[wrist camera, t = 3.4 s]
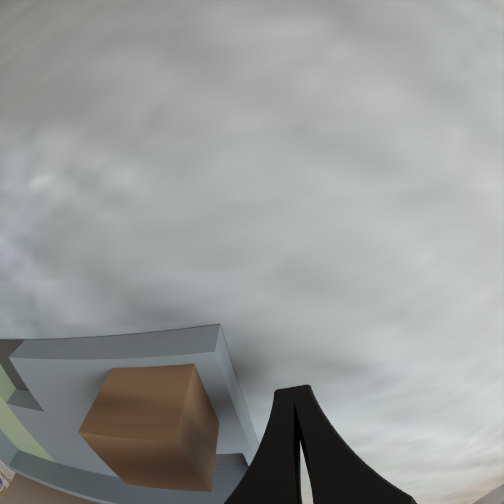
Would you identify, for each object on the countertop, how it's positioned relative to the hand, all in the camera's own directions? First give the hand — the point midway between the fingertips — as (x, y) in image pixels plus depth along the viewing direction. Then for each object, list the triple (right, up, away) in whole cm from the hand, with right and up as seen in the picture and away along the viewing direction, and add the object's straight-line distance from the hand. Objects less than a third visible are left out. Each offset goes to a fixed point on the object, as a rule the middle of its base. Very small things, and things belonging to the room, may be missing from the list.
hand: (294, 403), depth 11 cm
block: (-6, -1, +1) cm, 6 cm away
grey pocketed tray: (-14, -5, +5) cm, 15 cm away
